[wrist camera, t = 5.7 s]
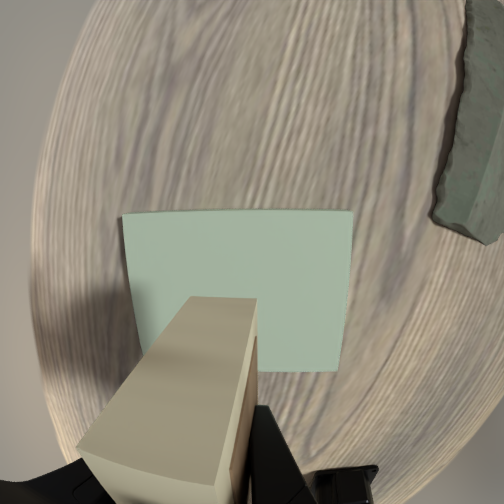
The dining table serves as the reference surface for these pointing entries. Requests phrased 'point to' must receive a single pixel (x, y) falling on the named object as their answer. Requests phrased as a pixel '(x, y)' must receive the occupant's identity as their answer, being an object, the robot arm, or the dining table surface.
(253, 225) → the mat
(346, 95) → the dining table surface
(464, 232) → the stone slab
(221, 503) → the beige flat box
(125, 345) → the dining table surface
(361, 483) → the robot arm
